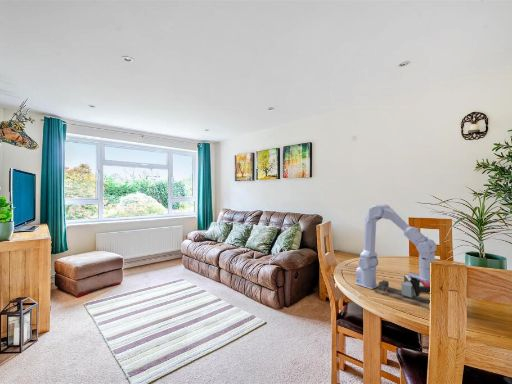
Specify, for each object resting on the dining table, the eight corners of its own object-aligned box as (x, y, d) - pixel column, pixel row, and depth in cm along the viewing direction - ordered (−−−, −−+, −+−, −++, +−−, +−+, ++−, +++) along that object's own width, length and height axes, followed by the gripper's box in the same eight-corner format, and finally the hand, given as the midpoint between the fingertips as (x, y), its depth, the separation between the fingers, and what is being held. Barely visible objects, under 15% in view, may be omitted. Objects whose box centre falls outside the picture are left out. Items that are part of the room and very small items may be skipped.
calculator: (412, 284, 121) (403, 274, 136) (412, 293, 121) (403, 281, 136) (438, 287, 118) (426, 275, 132) (438, 296, 118) (426, 283, 132)
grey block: (401, 294, 113) (401, 283, 113) (406, 291, 116) (406, 281, 116) (411, 297, 110) (411, 286, 110) (416, 294, 113) (416, 283, 113)
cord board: (374, 292, 121) (374, 283, 121) (384, 287, 127) (384, 278, 127) (434, 311, 101) (434, 300, 101) (442, 304, 107) (442, 294, 107)
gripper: (405, 265, 111) (405, 295, 110) (443, 273, 99) (444, 307, 99) (411, 262, 115) (411, 291, 115) (449, 270, 103) (449, 302, 103)
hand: (427, 298), depth 107 cm, fingers open, 7 cm apart
